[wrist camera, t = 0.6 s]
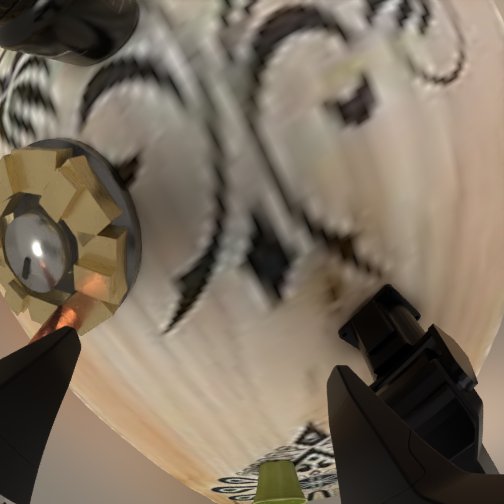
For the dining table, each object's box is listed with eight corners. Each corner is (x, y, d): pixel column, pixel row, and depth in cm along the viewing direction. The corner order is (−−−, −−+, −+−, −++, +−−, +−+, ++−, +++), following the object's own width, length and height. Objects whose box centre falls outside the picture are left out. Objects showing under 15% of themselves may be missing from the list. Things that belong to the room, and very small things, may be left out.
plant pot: (240, 468, 38) (240, 507, 30) (270, 453, 34) (273, 498, 27) (281, 473, 40) (284, 509, 32) (313, 458, 37) (319, 498, 29)
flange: (160, 156, 17) (133, 165, 12) (133, 333, 23) (117, 369, 19) (9, 131, 14) (-27, 138, 10) (12, 282, 21) (-12, 304, 16)
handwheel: (54, 104, 13) (-50, 111, 4) (168, 269, 18) (119, 375, 10) (-19, 222, 16) (-82, 265, 7) (66, 338, 21) (24, 408, 13)
